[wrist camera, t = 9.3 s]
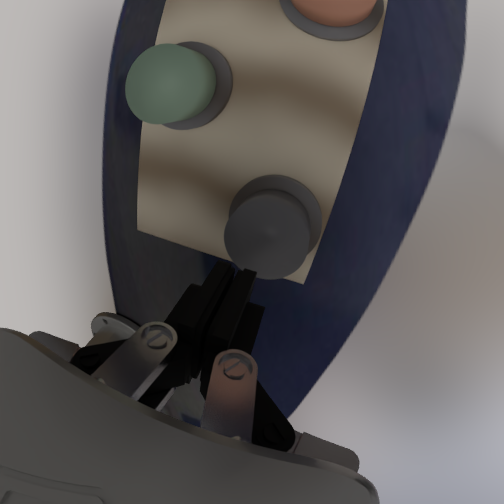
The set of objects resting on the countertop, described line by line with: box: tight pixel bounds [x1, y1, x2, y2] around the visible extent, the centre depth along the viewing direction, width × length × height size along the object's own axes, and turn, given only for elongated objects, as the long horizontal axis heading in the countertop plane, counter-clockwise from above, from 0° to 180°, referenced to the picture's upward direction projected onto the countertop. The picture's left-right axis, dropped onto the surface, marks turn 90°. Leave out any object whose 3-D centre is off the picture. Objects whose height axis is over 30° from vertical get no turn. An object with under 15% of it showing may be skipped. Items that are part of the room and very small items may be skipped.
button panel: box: [137, 0, 388, 284], centre depth 14 cm, size 22×13×3 cm, turn 168°
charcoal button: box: [224, 189, 311, 279], centre depth 15 cm, size 4×4×2 cm
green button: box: [125, 43, 216, 124], centre depth 12 cm, size 4×4×2 cm
